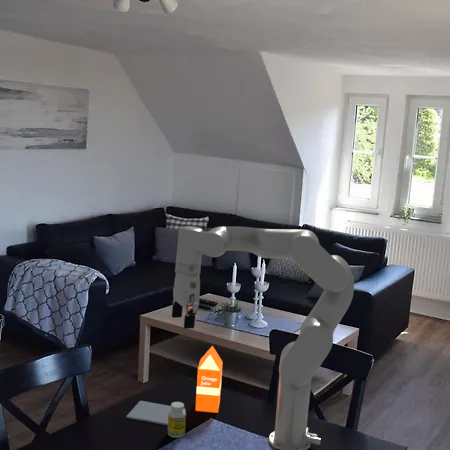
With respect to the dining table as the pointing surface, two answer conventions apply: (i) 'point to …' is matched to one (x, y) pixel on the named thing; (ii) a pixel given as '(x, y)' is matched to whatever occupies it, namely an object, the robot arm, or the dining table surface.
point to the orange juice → (209, 382)
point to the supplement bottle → (176, 420)
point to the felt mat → (150, 412)
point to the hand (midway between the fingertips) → (182, 322)
